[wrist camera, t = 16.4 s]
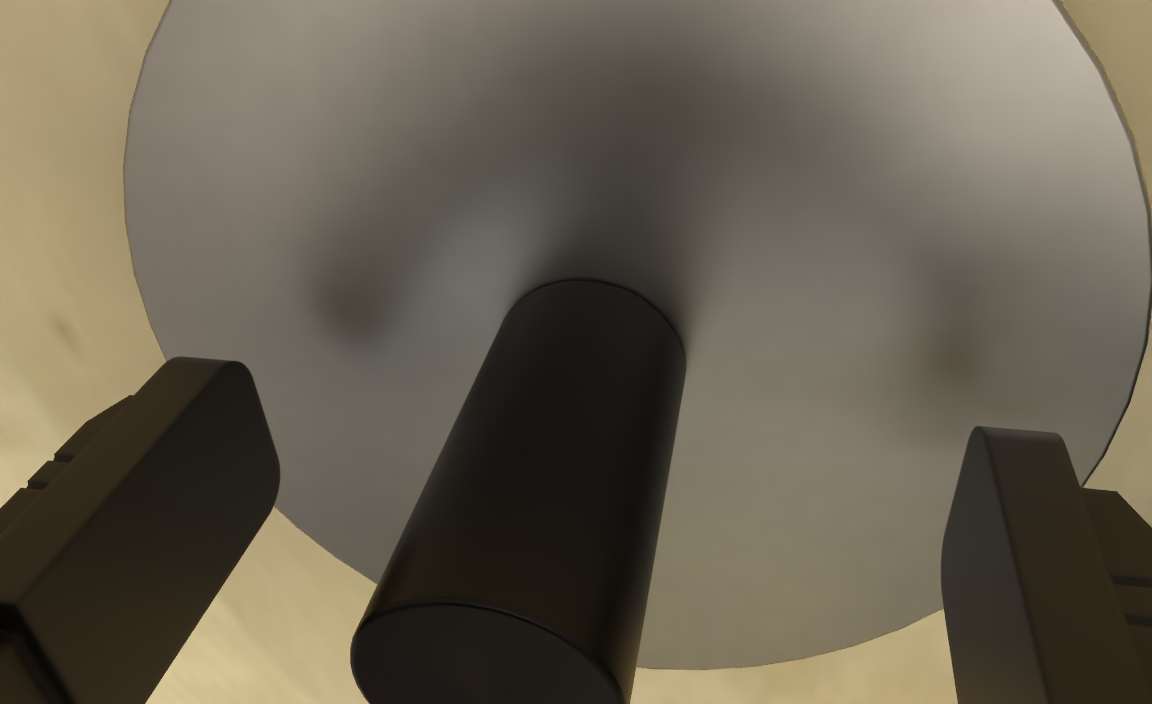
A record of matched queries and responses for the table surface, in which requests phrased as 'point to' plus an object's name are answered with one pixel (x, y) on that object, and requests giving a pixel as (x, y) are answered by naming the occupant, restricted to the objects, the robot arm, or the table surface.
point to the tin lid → (637, 305)
